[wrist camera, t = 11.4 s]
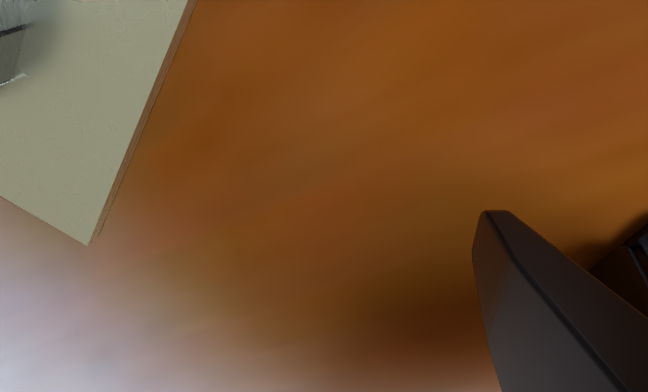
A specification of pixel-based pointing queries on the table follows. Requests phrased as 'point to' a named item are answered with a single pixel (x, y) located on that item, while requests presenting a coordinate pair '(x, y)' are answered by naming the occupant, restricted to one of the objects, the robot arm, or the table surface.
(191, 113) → the table surface
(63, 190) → the grey ring base plate
